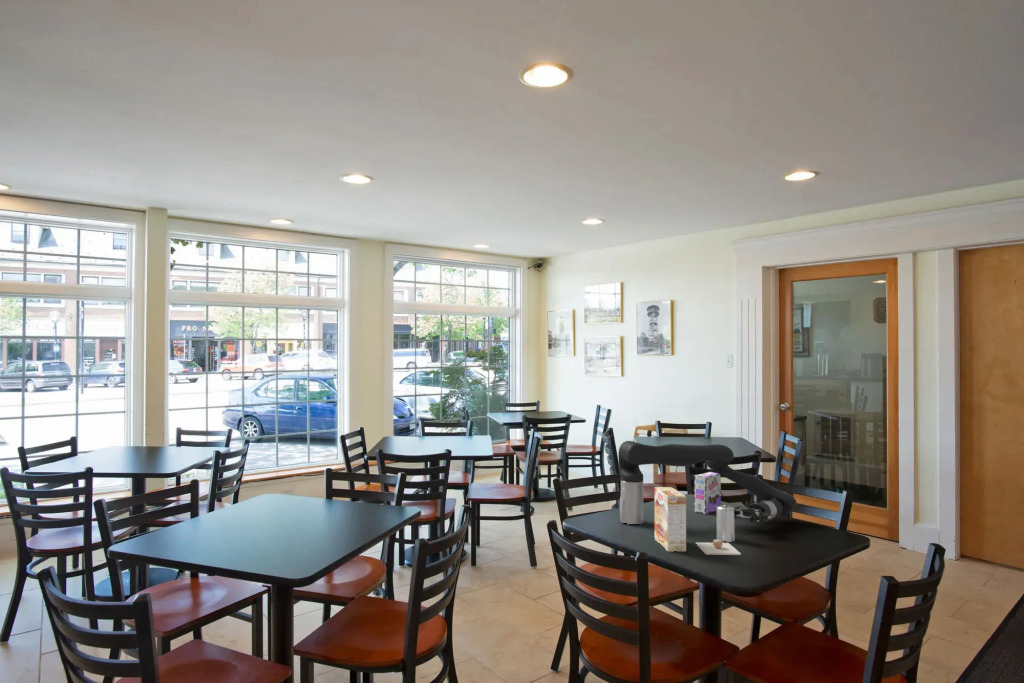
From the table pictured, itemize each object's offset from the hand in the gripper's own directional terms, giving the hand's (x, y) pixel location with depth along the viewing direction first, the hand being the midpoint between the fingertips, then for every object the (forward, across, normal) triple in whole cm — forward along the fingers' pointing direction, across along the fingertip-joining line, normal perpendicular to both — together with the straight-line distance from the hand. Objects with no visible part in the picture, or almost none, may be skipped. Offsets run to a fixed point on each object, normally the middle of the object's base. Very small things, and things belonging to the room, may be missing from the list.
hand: (740, 516), depth 227 cm
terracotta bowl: (+23, +5, +7) cm, 24 cm away
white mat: (+23, +5, +7) cm, 24 cm away
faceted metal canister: (+10, 0, +7) cm, 12 cm away
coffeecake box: (+33, -8, +7) cm, 35 cm away
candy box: (-22, -30, +7) cm, 38 cm away
